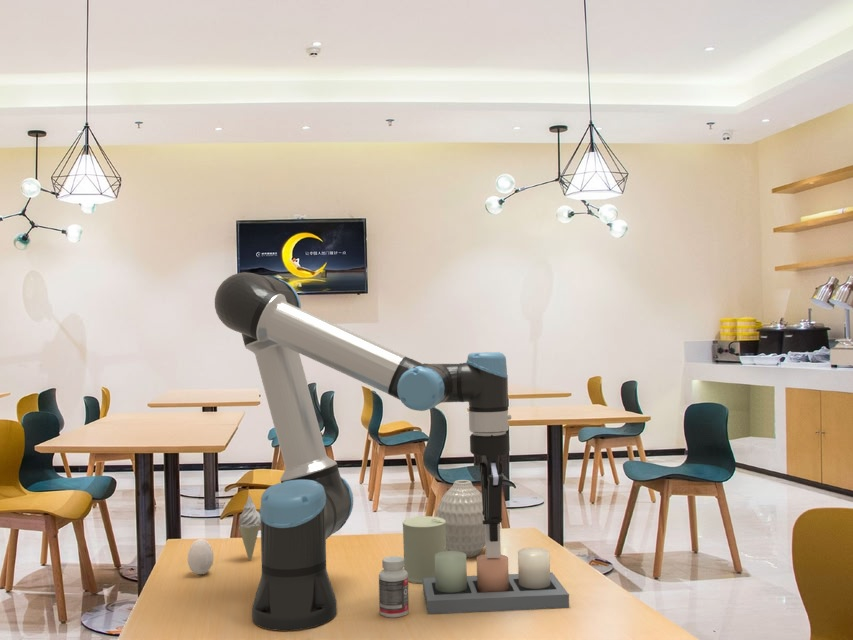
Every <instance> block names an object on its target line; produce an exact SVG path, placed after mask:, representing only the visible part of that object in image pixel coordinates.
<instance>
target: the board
mask: <svg viewBox="0 0 853 640" xmlns="http://www.w3.org/2000/svg"><path fill="white" fill-rule="evenodd" d="M422 592H423V596H424V597H423V598H424V603H425V606H426V612H427V613H426V614H427V615H439V614H440V615H442V614H461V613H462V614H463V613H482V612H483V613H485V612H502V611H503V612H504V611H527V610H528V611H529V610H542V609H543V610H546V609H547V610H548V609H550V610H551V609H565V608H566V609H567V608H570V594H569V592H568V591H567V589H566V588H564V586H563V584H562V583H561V582H560V581H559V579H558V578H557V577H556V575H555V574H554V573H553V572H551V571H550V586H548V587H546V588H540V589H531V588H525V587H522V586H520V585H519V576H518V573H510V574H509V591H508V592H486V593H479V592H478V591H477V575H467V589H465V590H463V591H460V592H453V593H448V592H441V591H438V590H437V589H436V588H435V578H423V584H422Z"/></svg>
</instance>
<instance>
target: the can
mask: <svg viewBox="0 0 853 640" xmlns="http://www.w3.org/2000/svg"><path fill="white" fill-rule="evenodd" d="M402 536H403V537H402V539H403V540H402V542H403V558H404V564H405V565H404V567H403V569H404V570H406V571H407V573H408V583H413V584H421V585H423V578H435V554H437V553H439V552H443V551H447V550H446V521H445V520H444V519H443V518H439V517H436V516H429V515H427V516H425V515H424V516H423V515H422V516H413V517H408V518H405V519H404V520H403V521H402Z"/></svg>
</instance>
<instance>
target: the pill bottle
mask: <svg viewBox="0 0 853 640" xmlns="http://www.w3.org/2000/svg"><path fill="white" fill-rule="evenodd" d="M381 565H382V566H381V567H382V570H381V571H380V572H378V573H379V574H378V600H379V601H378V602H379V603H378V607H379V613H380V615H381V616H383V617H385V618H400V617H404V616H406V615H407V614H408V613H409V610H410V609H409V607H410V606H409V605H410V604H409V601H410V600H409V597H410V596H409V581H408V573H407V571H406V570H404V565H405V564H404V556H403V557H402V556H398V555H391V556H386V557H384V558H382V562H381Z"/></svg>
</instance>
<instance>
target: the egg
mask: <svg viewBox="0 0 853 640" xmlns="http://www.w3.org/2000/svg"><path fill="white" fill-rule="evenodd" d="M213 550H214V549H213V548H212V546H211V544H210V543H209V541H207V539H205V538H198V539H196V540H195V541H193V542H192V544H191V546H190V548H189V549H188V553H187V565H188V568H189V569H190V571H191V572H192V573H194V575H197V574H203V575H205V574H206V573H208V572H209V571H210V569H211V568H212V566H213V564H214V551H213Z"/></svg>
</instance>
